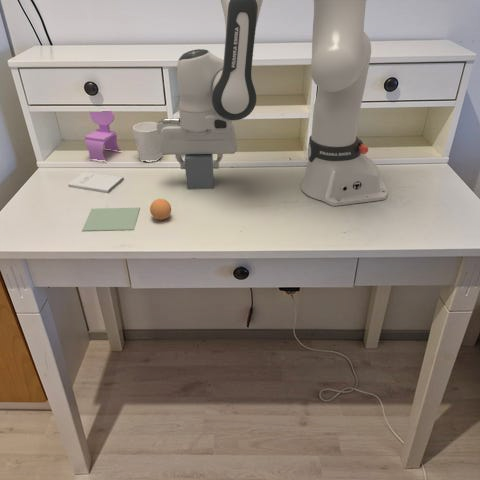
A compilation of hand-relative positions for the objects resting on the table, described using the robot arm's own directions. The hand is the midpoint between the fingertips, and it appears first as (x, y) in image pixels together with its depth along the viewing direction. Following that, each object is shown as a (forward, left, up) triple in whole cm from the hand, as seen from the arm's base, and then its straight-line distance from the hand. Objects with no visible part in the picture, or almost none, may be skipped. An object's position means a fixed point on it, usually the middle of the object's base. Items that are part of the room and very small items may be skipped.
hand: (199, 167), depth 126 cm
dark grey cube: (0, 0, -4) cm, 4 cm away
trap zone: (+21, +18, -4) cm, 28 cm away
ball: (+9, +18, -2) cm, 20 cm away
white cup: (+16, -17, -5) cm, 24 cm away
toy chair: (+30, -19, -5) cm, 36 cm away
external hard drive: (+29, -1, -5) cm, 29 cm away
